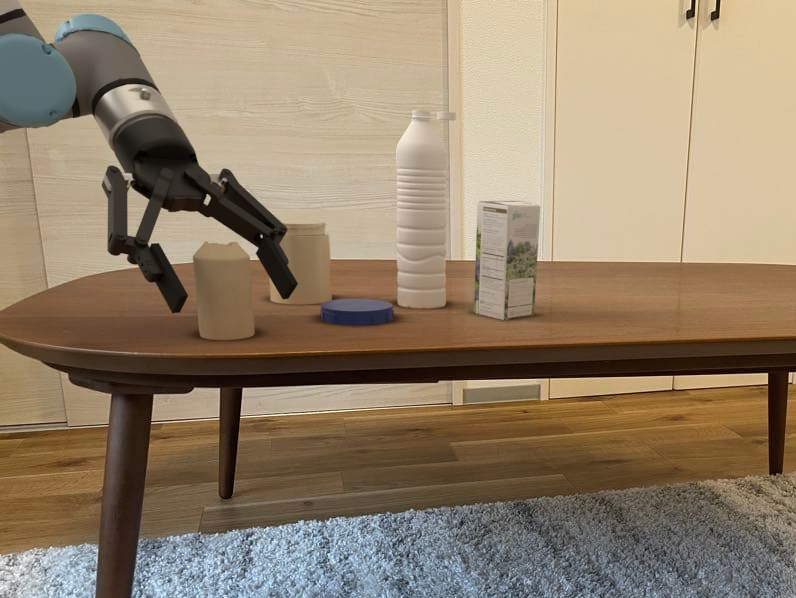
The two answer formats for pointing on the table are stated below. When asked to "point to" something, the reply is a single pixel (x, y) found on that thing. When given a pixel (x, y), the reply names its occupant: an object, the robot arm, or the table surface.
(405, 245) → the water bottle
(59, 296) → the table surface
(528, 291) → the syrup box
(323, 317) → the lid
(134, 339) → the table surface
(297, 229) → the jar
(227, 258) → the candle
